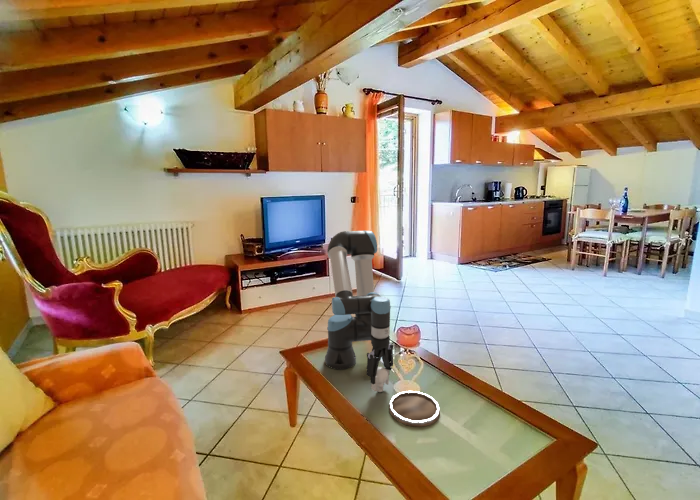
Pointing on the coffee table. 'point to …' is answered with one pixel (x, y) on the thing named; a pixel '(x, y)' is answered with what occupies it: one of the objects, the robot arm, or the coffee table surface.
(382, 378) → the lightbulb
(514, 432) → the coffee table surface
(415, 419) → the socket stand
